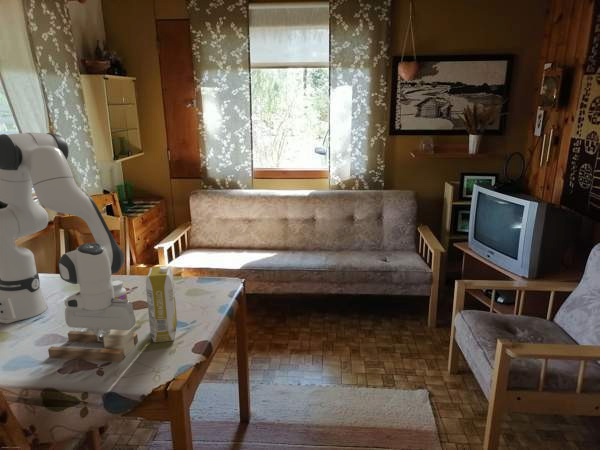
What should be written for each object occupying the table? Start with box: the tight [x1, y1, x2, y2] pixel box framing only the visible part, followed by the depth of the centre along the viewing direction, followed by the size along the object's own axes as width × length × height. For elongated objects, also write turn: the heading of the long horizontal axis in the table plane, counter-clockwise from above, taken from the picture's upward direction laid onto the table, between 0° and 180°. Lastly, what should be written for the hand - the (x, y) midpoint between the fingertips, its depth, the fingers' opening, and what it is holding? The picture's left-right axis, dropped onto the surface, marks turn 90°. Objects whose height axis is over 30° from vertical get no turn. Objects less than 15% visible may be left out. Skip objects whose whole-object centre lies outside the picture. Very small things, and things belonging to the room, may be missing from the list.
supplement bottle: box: [111, 280, 128, 303], centre depth 155 cm, size 7×7×13 cm
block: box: [103, 328, 135, 358], centre depth 131 cm, size 6×6×6 cm
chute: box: [47, 330, 139, 363], centre depth 132 cm, size 22×11×4 cm, turn 84°
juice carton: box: [145, 265, 178, 343], centre depth 139 cm, size 9×8×24 cm
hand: (103, 340), depth 131 cm, fingers closed
